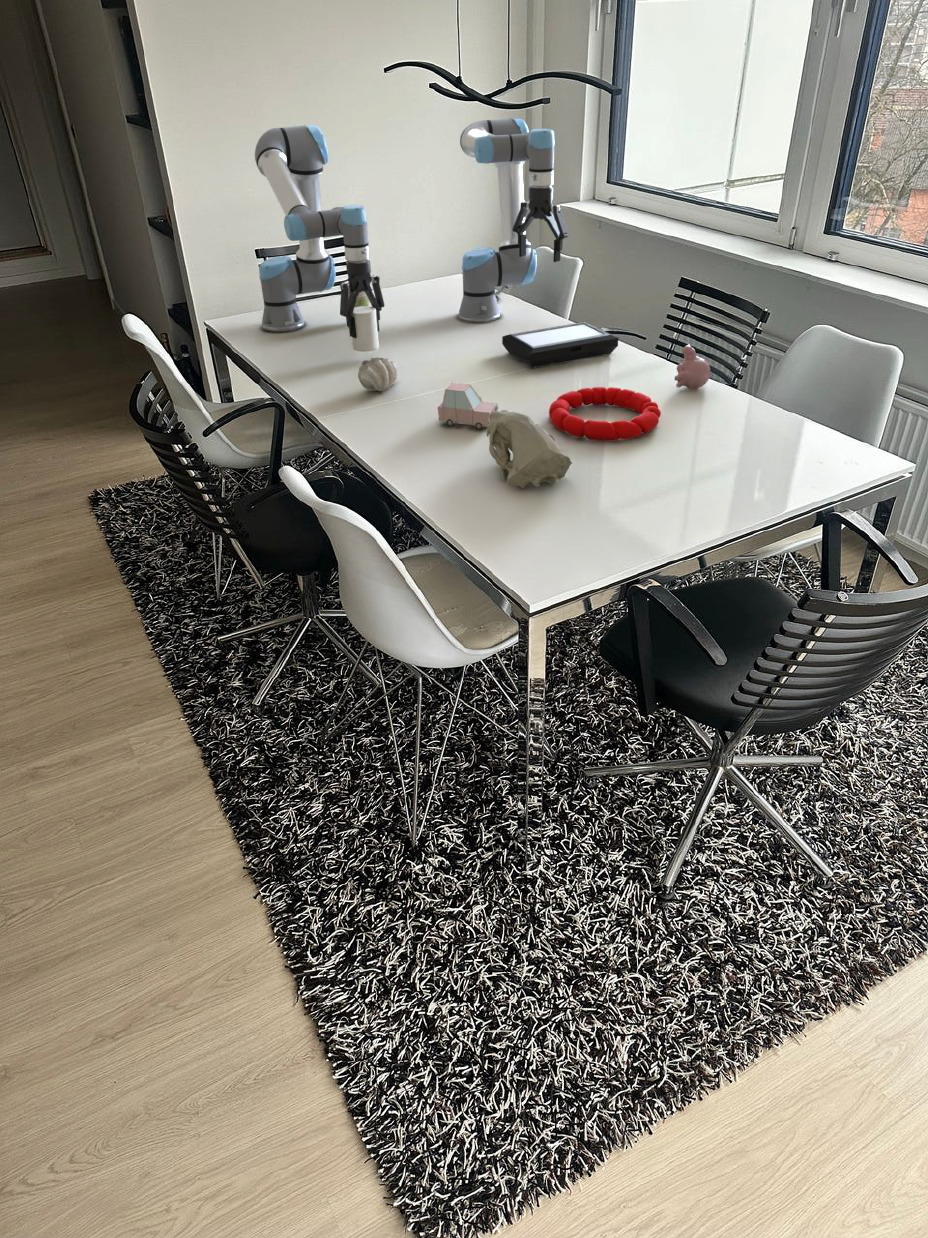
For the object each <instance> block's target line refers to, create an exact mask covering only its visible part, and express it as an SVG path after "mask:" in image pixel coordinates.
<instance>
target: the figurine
mask: <svg viewBox="0 0 928 1238" xmlns="http://www.w3.org/2000/svg"><path fill="white" fill-rule="evenodd" d="M682 354H683V358H684V359H683V361H682V362H679V363H678V364H677V365H676V372H677V375H675V376H674V381H675V382H676V381H677V382H676V384H675V386H676V388H681V387H686V388H688V389H693V390H694V389H695V390H696V389H700V388H703V387H704V386H705V385H706V384H707V383H708V382H709V379H710V377H711V367H710V364H709V362H708V361H706V359H704V358H702V357H700V356H697V353H696V350H695V349H694V347H692V345H690V344H686V345H685V346H684V347H683V348H682Z"/></svg>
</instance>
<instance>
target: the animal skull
mask: <svg viewBox="0 0 928 1238" xmlns="http://www.w3.org/2000/svg"><path fill="white" fill-rule="evenodd" d="M485 436H486V438H487V437H489V438H488V440H489V444H488V445H489V446H488V450H489V454H490V456H491V457H492V458H493V459H494V460H495V462H496V464H497V466H499V468H500V470H501V471H502V472H501V478H502V479H507V480H506V484H507V486H517V487H518V486H519V488H523V489H524V488H526V486H527V485H529V483H531V485H533V486H534V487H536V488H540V485H541V484H542V482H544V483H549V484H550V485H553V484H555V483H556V482H557V480H561V479H563V478H565V476H566V474H567V472H568V471H569V469H570V467H571V466H572V464H573V462H572V461H571V458H570V457H568V456H567V455H565V453H564V451H562V449H561V448H560V446H559V444H557V443H556V439H555V438H554V436H553V435H551V434H550V433H548V432H547V431H546V430H545V429H544V428H542V427H541V426H539V425H538V424H537V423H536V424H535V422H534V421H533V419H532V418H531V417H530V416H529V415H527V414H524V413H519V412H515V411H509V410H507V409H502V410H500V411H499V410H497V411H496V412H492V413H491V414H490V422H488V423H487V427H486V435H485ZM511 453H512V454H511ZM511 455H512V457H513V458H512V460H511ZM507 474H508V475H507Z"/></svg>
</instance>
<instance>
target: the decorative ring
mask: <svg viewBox="0 0 928 1238" xmlns="http://www.w3.org/2000/svg"><path fill="white" fill-rule="evenodd" d="M583 405H584V406H586V407H587V406H591V405H593V406H604V405H608V406H614V407H619V408H624V409H628V410H632V411H635V412H636V413H638V414H639V415H637V416H635V417H632V418H631V419H630V420H625V419H624V420H623V419H622V420H614V421H611V422H609V421H607V420H606V421H605V420H593V419H587V420H586V421H585V419H584V418H582V417H579V416H577V415H573V414H571V413H570V410H571V409H579V408H581V407H582V406H583ZM548 416H549V419H550V422H551V423H552V425H553V426H554V427H555V428H556V429H558V430H559V431H561V432H563V433H567V434H568V435H569V436H573V437H576V438H580V439H582V438H583V437H585V438H586V439H587V440H591V441H601V442H602V441H603V442H608V441H609V442H610V441H611V442H612V441H615V442H616V441H618V440H630V439H634V438H638V437H641V436H642V434H647V433H650V432H651V431H653V430H654V429H655V428H656V427H657V426H658V424H659V422H660V421H659V420H660V417H661V410H660V408H659V405H658V403H657V402H656V401H652V399H651V397H649V396H648V395H646V394H644V393H642V392H635V391H634V390H632V389H628V388H624V389H622V388H620V387H613V386H612V387H611V386H610V387H608V388H606V387H604V386H594V387H585V388H584V387H583V388H580V389H578V390H571V391H568V392H565V393H563V394H561V395H560V396H558V397H557V398H556V400H554V401H552V403H551V404H550V407H549V409H548Z"/></svg>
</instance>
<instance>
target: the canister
mask: <svg viewBox="0 0 928 1238" xmlns="http://www.w3.org/2000/svg"><path fill="white" fill-rule="evenodd" d="M352 316H353V317H355V327H356V337H357V338H353V337H351V340H352V349H353V350H354V351H355V352H360V353H367V352H373V351H376V350H378V349H379V348H380V344H379V343H380V342H379V332H378V330H377V318H376V309H375V308H374V307H372V306H370V305H369V306H361V307H355V308H354V311H353V315H352Z"/></svg>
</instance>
